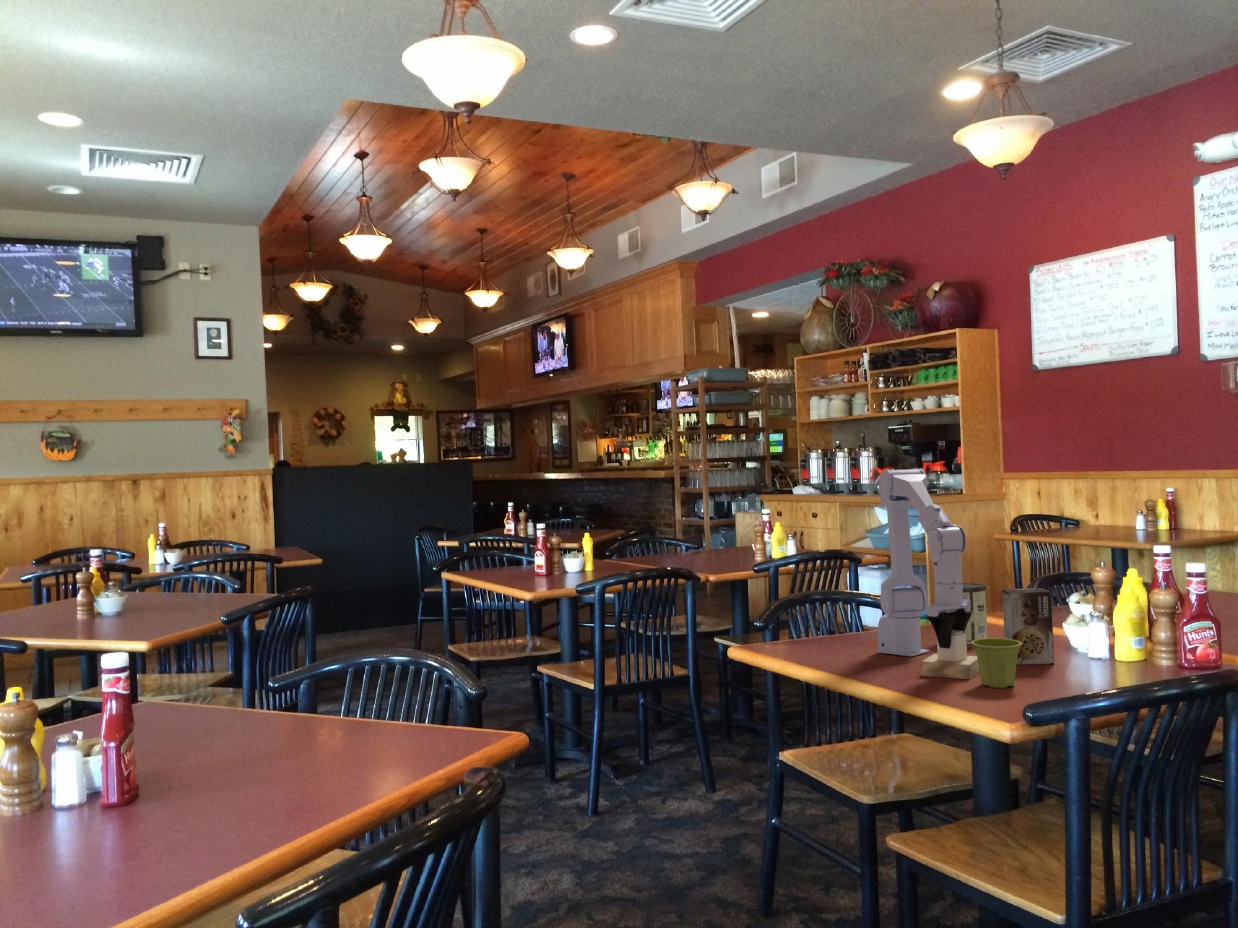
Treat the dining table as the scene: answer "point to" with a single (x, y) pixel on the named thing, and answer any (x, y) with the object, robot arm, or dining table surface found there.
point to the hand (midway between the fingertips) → (950, 646)
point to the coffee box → (1029, 624)
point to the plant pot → (997, 661)
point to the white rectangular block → (954, 648)
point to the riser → (950, 667)
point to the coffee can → (976, 611)
